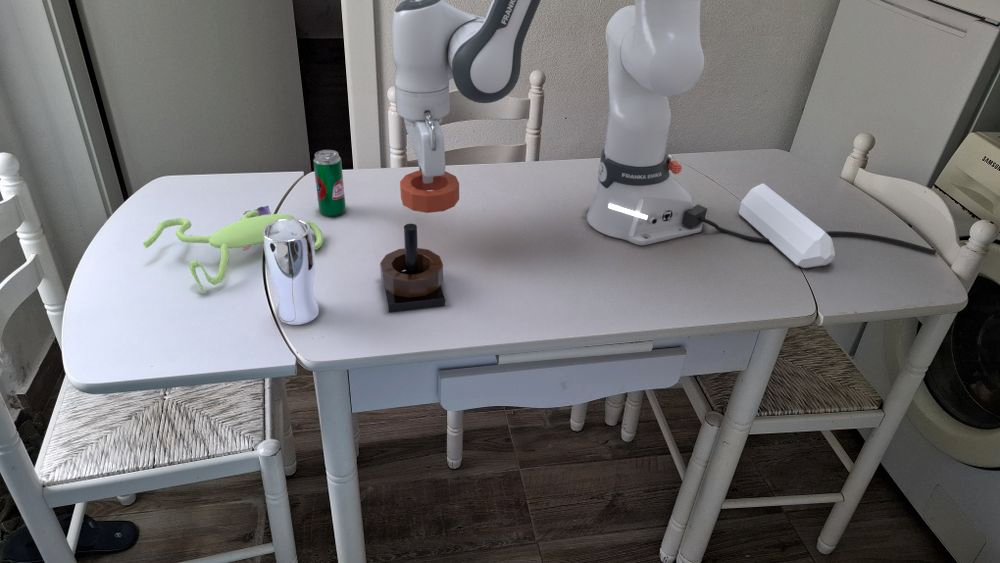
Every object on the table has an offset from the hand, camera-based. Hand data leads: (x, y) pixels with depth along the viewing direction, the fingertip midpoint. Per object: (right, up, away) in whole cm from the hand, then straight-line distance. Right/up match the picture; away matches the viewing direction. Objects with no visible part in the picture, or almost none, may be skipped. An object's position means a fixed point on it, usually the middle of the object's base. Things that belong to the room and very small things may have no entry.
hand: (425, 177), depth 121 cm
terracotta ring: (+1, -4, -2) cm, 5 cm away
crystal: (+67, -10, +11) cm, 69 cm away
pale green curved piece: (-33, -13, -1) cm, 36 cm away
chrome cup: (-18, -23, -15) cm, 33 cm away
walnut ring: (-1, -18, -8) cm, 20 cm away
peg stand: (-1, -20, -9) cm, 22 cm away
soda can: (-19, -5, +12) cm, 24 cm away
